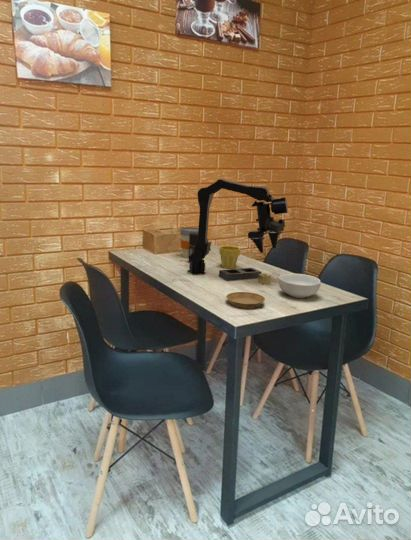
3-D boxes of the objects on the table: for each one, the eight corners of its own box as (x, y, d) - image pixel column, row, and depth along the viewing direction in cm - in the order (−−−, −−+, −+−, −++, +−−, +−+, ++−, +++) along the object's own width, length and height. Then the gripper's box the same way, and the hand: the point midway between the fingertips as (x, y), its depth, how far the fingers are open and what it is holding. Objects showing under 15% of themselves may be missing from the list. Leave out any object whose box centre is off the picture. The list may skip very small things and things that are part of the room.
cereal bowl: (269, 291, 191) (270, 275, 189) (299, 287, 199) (301, 271, 198) (295, 303, 177) (297, 286, 175) (327, 299, 185) (329, 282, 183)
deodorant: (201, 261, 236) (202, 233, 232) (197, 264, 231) (198, 235, 227) (190, 260, 238) (191, 232, 234) (186, 262, 232) (187, 233, 229)
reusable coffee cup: (202, 260, 240) (203, 231, 236) (178, 258, 240) (179, 230, 236) (202, 254, 252) (204, 228, 249) (180, 253, 252) (181, 226, 249)
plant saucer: (223, 308, 168) (223, 301, 168) (228, 296, 182) (228, 290, 182) (263, 312, 166) (263, 305, 165) (265, 300, 180) (266, 293, 179)
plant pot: (243, 268, 228) (244, 248, 226) (227, 270, 222) (228, 250, 220) (229, 263, 236) (231, 244, 234) (214, 265, 230) (215, 246, 227)
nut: (262, 285, 200) (263, 276, 199) (257, 282, 203) (258, 273, 202) (270, 284, 202) (270, 275, 201) (264, 282, 205) (265, 273, 204)
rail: (227, 281, 203) (227, 274, 202) (218, 276, 210) (219, 270, 209) (261, 277, 211) (261, 271, 210) (251, 273, 218) (252, 267, 217)
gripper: (265, 218, 188) (269, 255, 191) (291, 211, 200) (295, 246, 203) (245, 219, 196) (249, 254, 199) (271, 212, 208) (275, 246, 211)
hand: (268, 250), depth 203 cm, fingers open, 9 cm apart
